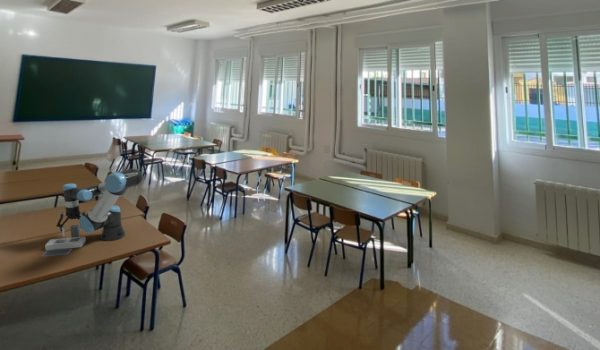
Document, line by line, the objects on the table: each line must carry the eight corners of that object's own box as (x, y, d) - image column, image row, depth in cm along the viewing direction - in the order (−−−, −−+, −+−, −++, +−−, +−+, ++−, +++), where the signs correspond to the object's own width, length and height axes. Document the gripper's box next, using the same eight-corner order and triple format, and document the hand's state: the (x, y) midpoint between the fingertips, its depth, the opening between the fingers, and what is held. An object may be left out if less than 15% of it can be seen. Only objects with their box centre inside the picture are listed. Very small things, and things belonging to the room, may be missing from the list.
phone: (46, 252, 201) (46, 250, 201) (72, 250, 206) (72, 248, 206) (41, 257, 195) (41, 256, 195) (68, 255, 199) (68, 253, 199)
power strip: (85, 241, 217) (85, 235, 216) (81, 246, 209) (81, 241, 208) (51, 244, 211) (50, 238, 210) (45, 250, 203) (44, 244, 202)
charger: (81, 237, 223) (79, 224, 220) (79, 239, 219) (77, 226, 217) (74, 237, 221) (72, 224, 219) (72, 240, 217) (70, 227, 215)
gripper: (94, 203, 222) (97, 230, 227) (52, 205, 214) (56, 233, 219) (91, 206, 215) (94, 235, 220) (47, 209, 207) (52, 238, 212)
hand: (75, 234), depth 219 cm, fingers open, 13 cm apart
